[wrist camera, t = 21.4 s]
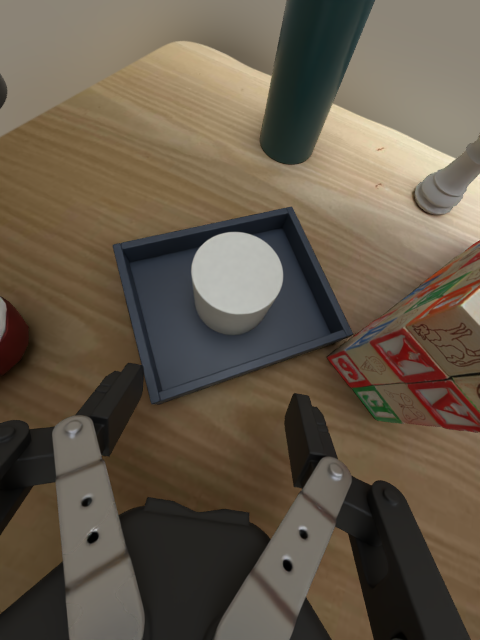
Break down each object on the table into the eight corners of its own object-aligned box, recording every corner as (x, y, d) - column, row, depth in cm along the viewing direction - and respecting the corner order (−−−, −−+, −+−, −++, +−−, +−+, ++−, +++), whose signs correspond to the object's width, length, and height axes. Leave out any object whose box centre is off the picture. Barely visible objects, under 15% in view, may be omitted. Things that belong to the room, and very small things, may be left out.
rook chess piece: (410, 180, 29) (481, 101, 22) (447, 189, 29) (531, 114, 22) (412, 212, 28) (489, 139, 20) (452, 221, 28) (542, 152, 20)
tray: (158, 404, 19) (151, 404, 16) (122, 261, 22) (112, 244, 20) (338, 341, 22) (353, 334, 20) (284, 224, 25) (292, 206, 23)
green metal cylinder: (271, 168, 27) (323, -27, 15) (252, 127, 29) (284, -80, 16) (321, 159, 28) (407, -27, 16) (300, 121, 30) (363, -76, 18)
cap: (207, 344, 20) (207, 326, 15) (186, 277, 22) (180, 242, 17) (277, 323, 21) (297, 299, 17) (252, 261, 23) (264, 223, 18)
